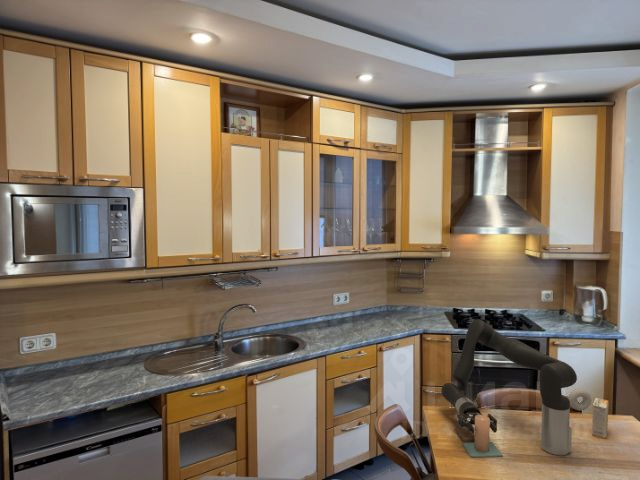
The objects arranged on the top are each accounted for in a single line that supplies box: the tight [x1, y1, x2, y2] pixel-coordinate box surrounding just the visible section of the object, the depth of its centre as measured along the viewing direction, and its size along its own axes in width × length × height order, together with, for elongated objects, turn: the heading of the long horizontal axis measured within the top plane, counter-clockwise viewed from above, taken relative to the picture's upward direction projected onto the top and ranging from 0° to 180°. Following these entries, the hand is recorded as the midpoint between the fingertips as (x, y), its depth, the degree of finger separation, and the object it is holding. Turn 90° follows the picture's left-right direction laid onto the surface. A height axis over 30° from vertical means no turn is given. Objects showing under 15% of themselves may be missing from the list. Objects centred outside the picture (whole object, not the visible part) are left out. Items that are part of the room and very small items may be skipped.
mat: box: [461, 441, 504, 459], centre depth 159 cm, size 12×9×1 cm
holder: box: [453, 426, 475, 443], centre depth 170 cm, size 10×10×2 cm
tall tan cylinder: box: [474, 414, 491, 453], centre depth 159 cm, size 5×5×12 cm
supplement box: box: [591, 397, 609, 440], centre depth 171 cm, size 8×5×13 cm, turn 141°
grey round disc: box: [567, 388, 592, 411], centre depth 191 cm, size 10×3×10 cm, turn 89°
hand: (484, 430), depth 157 cm, fingers open, 8 cm apart
